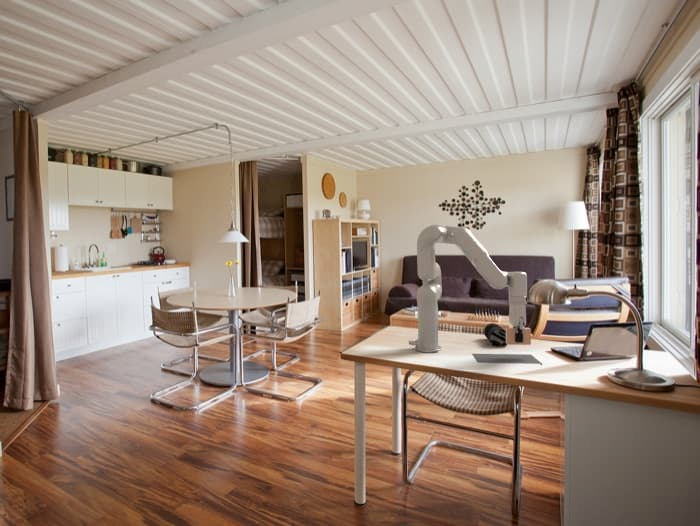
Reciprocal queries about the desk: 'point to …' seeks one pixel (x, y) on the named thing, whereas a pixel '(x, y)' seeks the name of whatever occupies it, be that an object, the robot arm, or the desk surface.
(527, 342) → the block
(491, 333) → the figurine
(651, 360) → the desk surface
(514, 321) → the robot arm
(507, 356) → the mat
